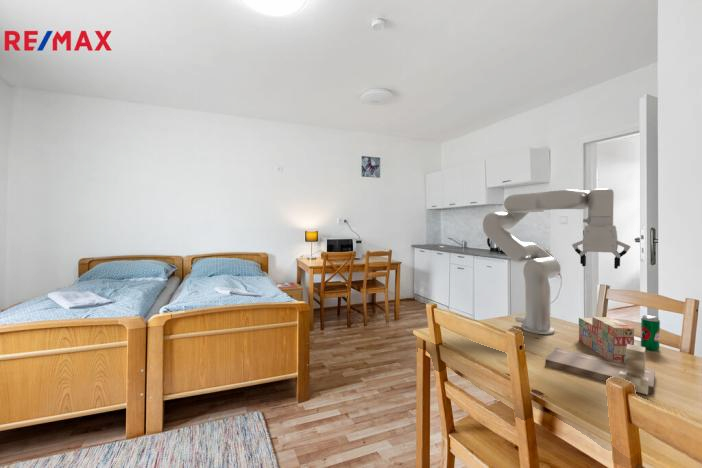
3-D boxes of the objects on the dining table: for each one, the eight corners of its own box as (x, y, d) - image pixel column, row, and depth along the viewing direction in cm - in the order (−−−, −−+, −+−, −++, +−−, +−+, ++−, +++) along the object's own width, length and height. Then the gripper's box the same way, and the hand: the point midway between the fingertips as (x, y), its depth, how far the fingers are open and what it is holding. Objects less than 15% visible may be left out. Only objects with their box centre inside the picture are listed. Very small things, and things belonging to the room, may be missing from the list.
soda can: (658, 352, 115) (659, 319, 115) (639, 348, 119) (640, 316, 118) (660, 349, 118) (660, 317, 118) (641, 345, 122) (642, 314, 122)
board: (545, 365, 106) (545, 359, 106) (556, 352, 116) (556, 347, 116) (653, 394, 87) (653, 386, 87) (654, 376, 97) (655, 369, 97)
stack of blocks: (578, 340, 128) (578, 309, 128) (595, 341, 127) (595, 310, 127) (613, 363, 107) (613, 327, 107) (634, 364, 106) (634, 327, 106)
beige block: (618, 387, 90) (619, 353, 90) (624, 370, 101) (624, 339, 101) (647, 395, 86) (648, 359, 86) (650, 376, 97) (650, 344, 96)
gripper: (570, 222, 123) (570, 266, 124) (629, 221, 111) (629, 270, 112) (574, 222, 129) (574, 264, 129) (631, 221, 116) (630, 268, 117)
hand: (599, 267), depth 120 cm, fingers open, 9 cm apart
